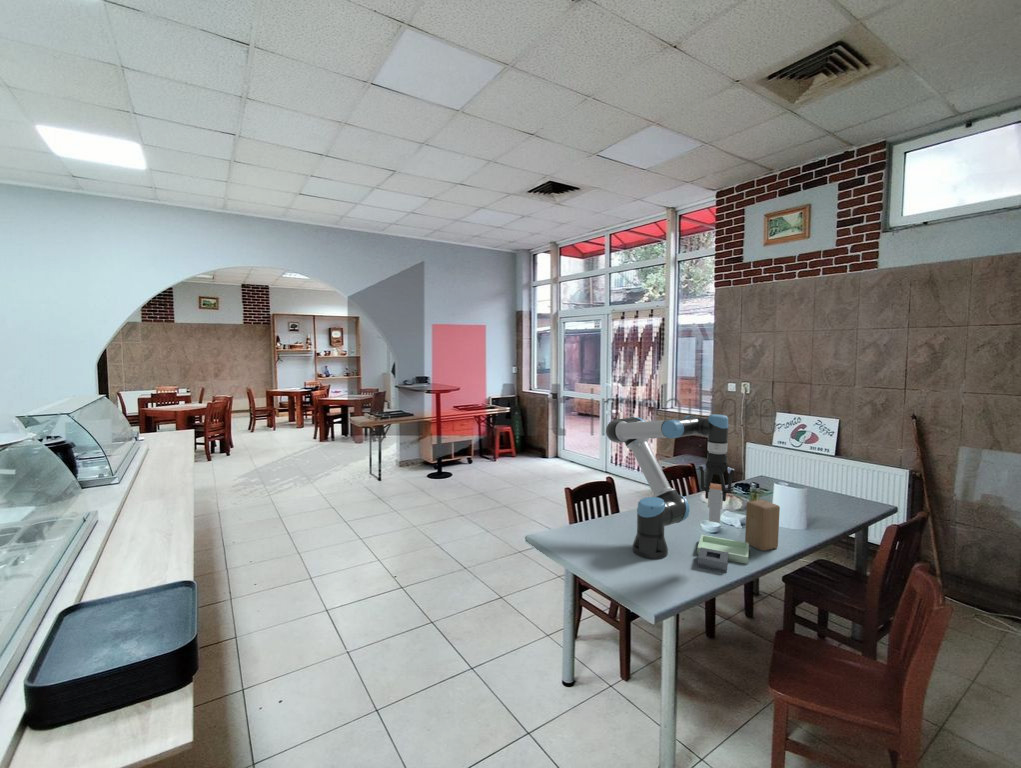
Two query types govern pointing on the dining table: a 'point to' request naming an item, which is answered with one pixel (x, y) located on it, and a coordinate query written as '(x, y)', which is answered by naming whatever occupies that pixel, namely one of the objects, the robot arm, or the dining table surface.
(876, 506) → the dining table surface
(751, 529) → the wooden block
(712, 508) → the pin
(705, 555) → the block
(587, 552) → the dining table surface
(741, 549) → the tray
